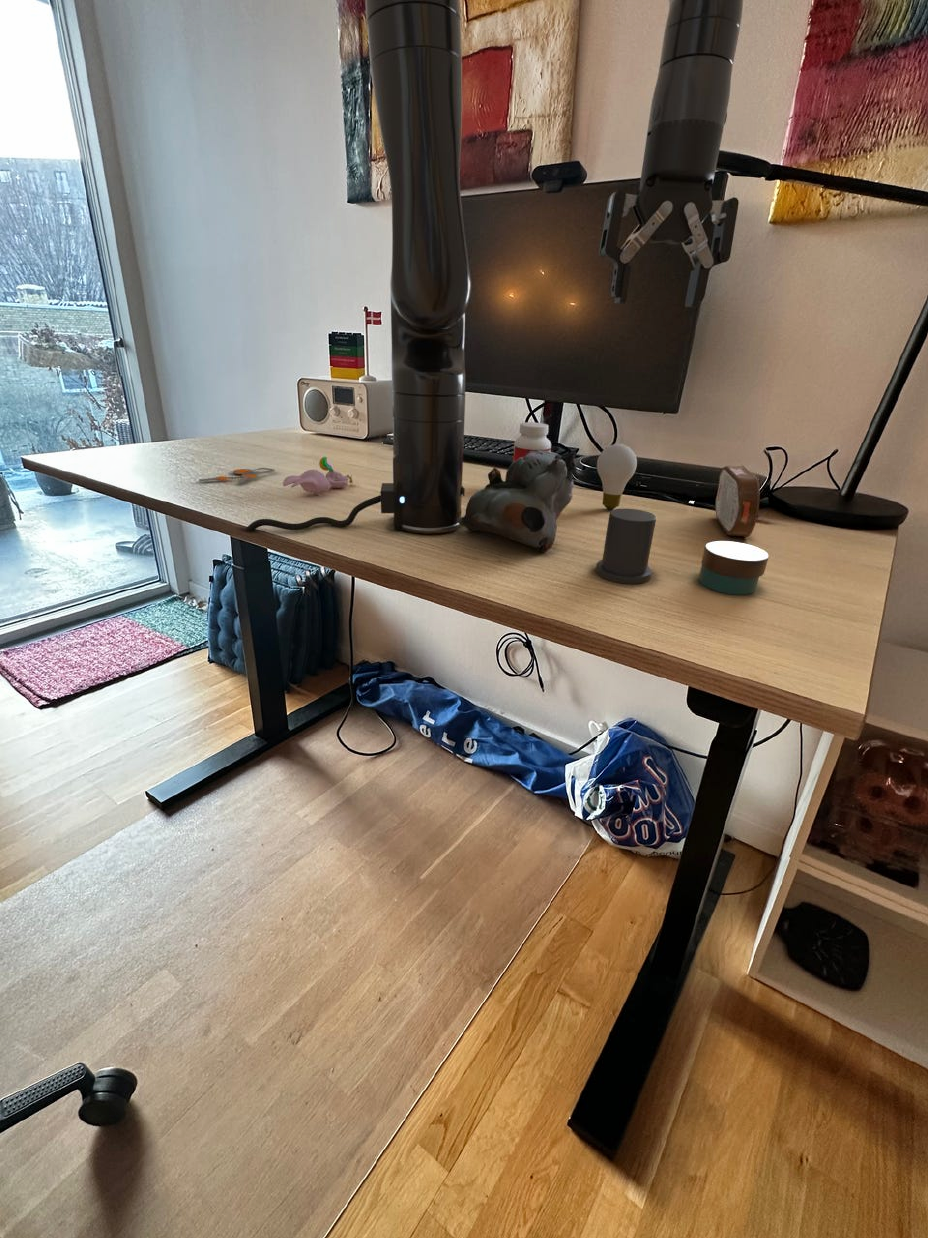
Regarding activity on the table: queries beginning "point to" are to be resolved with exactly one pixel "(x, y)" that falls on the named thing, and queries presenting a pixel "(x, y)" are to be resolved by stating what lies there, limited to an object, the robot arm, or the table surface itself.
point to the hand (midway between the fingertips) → (655, 305)
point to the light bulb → (615, 472)
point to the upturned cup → (627, 546)
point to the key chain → (244, 477)
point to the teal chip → (727, 583)
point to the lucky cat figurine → (524, 499)
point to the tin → (737, 500)
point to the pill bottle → (531, 439)
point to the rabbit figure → (319, 479)
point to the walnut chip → (734, 559)
